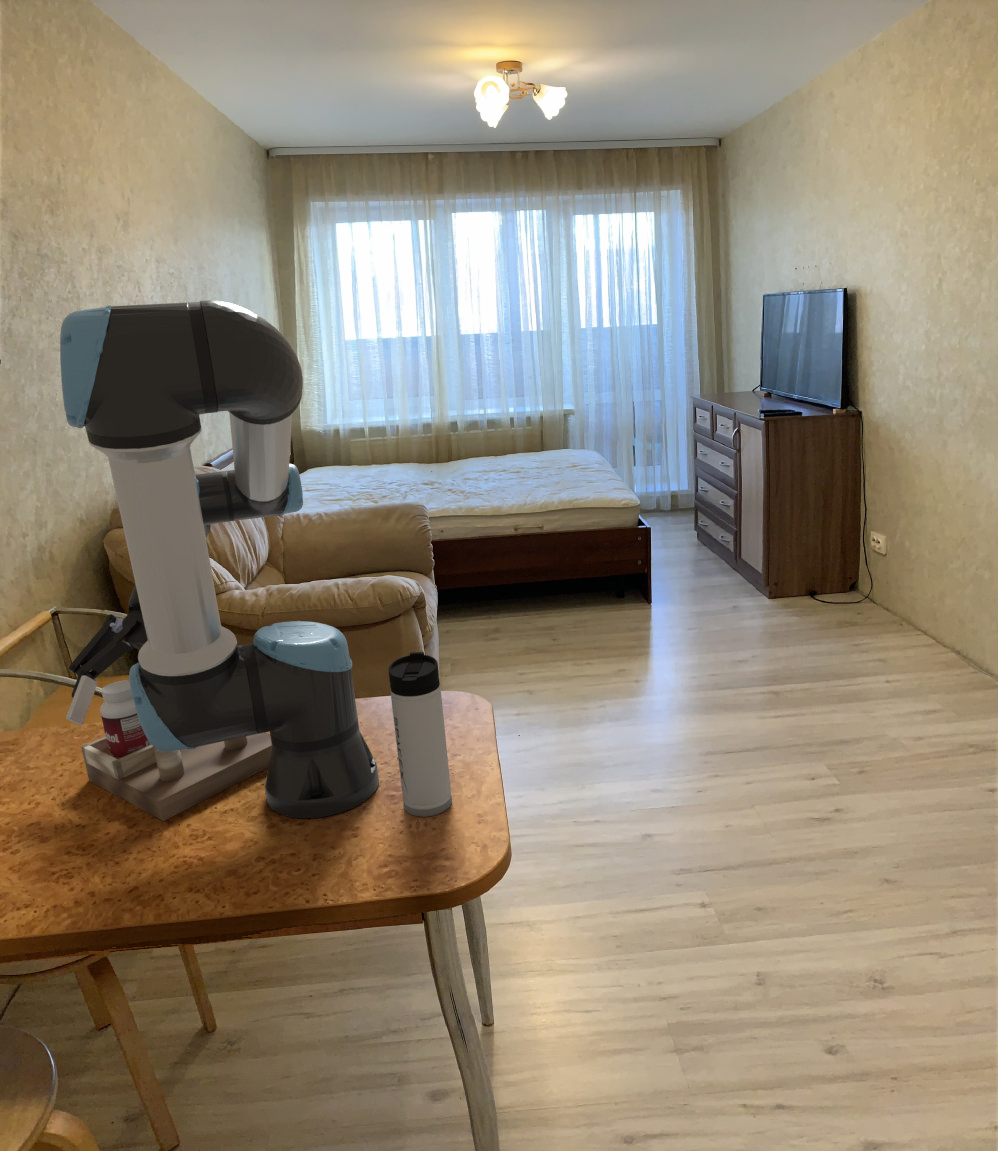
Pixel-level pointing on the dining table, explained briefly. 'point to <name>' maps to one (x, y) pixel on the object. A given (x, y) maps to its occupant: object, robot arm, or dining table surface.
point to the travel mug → (420, 734)
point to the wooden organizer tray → (176, 772)
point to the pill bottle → (121, 720)
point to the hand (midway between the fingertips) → (113, 724)
